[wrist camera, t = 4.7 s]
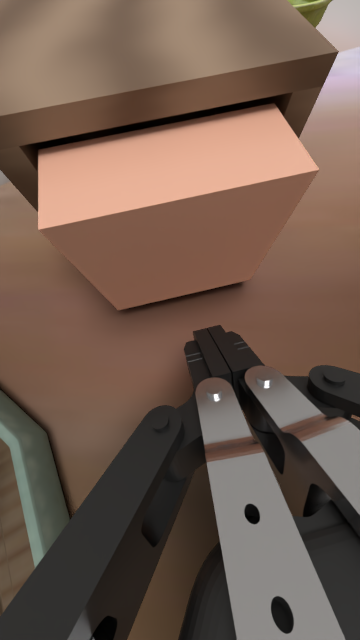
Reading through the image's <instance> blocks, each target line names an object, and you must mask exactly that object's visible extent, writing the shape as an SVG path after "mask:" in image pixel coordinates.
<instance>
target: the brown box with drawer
mask: <svg viewBox="0 0 360 640" xmlns="http://www.w3.org/2000/svg"><path fill="white" fill-rule="evenodd" d="M338 52H339V51H338V50H337V49H335V47H334V46H333V45H332V44H331V43H330V42H329V41H328V40H327V39H326V38H325V37H324V36H323V35H322V34H321V33H320V32H319V31H318V30H317V29H316V28H315V27H314V26H313V25H312V24H310V23H309V22H308V21H307V20H306V19H305V18H304V17H303V16H302V15H301V14H300V13H299V12H298V11H297V10H296V9H295V8H294V7H293V6H292V5H291V4H290V3H289V2H288V1H287V0H0V170H1V171H2V172H3V173H4V174H5V176H6V177H7V178H8V179H9V180H10V181H11V182H12V184H13V185H14V186H15V187H16V188H17V189H18V190H19V191H20V193H21V194H22V195H23V196H24V197H25V198H26V199H27V200H28V202H29V203H30V204H31V205H32V206H33V207H34V208H35V209H36V211H37V212H38V150H40V149H45V148H50V147H55V146H60V145H65V144H70V143H75V142H80V141H85V140H90V139H95V138H100V137H105V136H110V135H115V134H120V133H125V132H130V131H135V130H140V129H146V128H151V127H156V126H161V125H166V124H171V123H176V122H181V121H186V120H191V119H196V118H201V117H206V116H211V115H216V114H221V113H226V112H231V111H236V110H241V109H246V108H251V107H256V106H261V105H267V104H272V103H275V105H276V106H277V108H278V109H279V111H280V112H281V114H282V115H283V117H284V118H285V120H286V121H287V123H288V124H289V126H290V127H291V129H292V130H293V132H294V133H295V134H296V136H297V137H298V139H299V137H300V135H301V132H302V130H303V128H304V126H305V124H306V121H307V119H308V117H309V115H310V113H311V111H312V108H313V106H314V104H315V102H316V100H317V98H318V95H319V93H320V91H321V89H322V87H323V85H324V82H325V80H326V78H327V76H328V74H329V72H330V69H331V67H332V65H333V63H334V61H335V59H336V56H337V54H338Z"/></svg>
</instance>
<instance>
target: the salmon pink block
mask: <svg viewBox="0 0 360 640" xmlns="http://www.w3.org/2000/svg"><path fill="white" fill-rule="evenodd" d="M318 171H319V168H318V167H317V166H316V164H315V163H314V161H313V160H312V158H311V157H310V155H309V154H308V152H307V151H306V149H305V148H304V146H303V145H302V143H301V142H300V140H299V139H298V137H297V136H296V134H295V133H294V132H293V130H292V129H291V127H290V126H289V124H288V123H287V121H286V120H285V118H284V117H283V115H282V114H281V112H280V111H279V109H278V108H277V106H276V105H275V103H272V104H267V105H261V106H256V107H251V108H246V109H241V110H236V111H231V112H226V113H221V114H216V115H211V116H206V117H201V118H196V119H191V120H186V121H181V122H176V123H171V124H166V125H161V126H156V127H151V128H146V129H140V130H135V131H130V132H125V133H120V134H115V135H110V136H105V137H100V138H95V139H90V140H85V141H80V142H75V143H70V144H65V145H60V146H55V147H50V148H45V149H40V150H38V230H39V231H40V232H41V233H42V234H43V235H44V236H45V237H46V238H47V239H48V240H49V241H50V242H51V243H52V244H53V245H54V246H55V247H56V248H57V249H58V250H59V251H60V252H61V253H62V254H63V255H64V256H65V257H66V258H67V259H68V260H69V261H70V262H71V263H72V264H73V265H74V266H75V267H76V268H77V269H78V270H79V271H80V272H81V273H82V274H83V275H84V276H85V277H86V278H87V279H88V280H89V282H90V283H91V284H92V285H93V286H94V287H95V288H96V289H97V290H98V291H99V292H100V293H101V294H102V295H103V296H104V297H105V298H106V299H107V300H108V301H109V302H110V303H111V304H112V305H113V306H114V307H115V308H116V309H117V310H122V309H127V308H131V307H135V306H140V305H144V304H148V303H152V302H157V301H161V300H165V299H170V298H174V297H178V296H183V295H187V294H191V293H195V292H200V291H204V290H208V289H213V288H217V287H221V286H225V285H230V284H234V283H238V282H243V281H247V280H250V279H251V278H252V276H253V275H254V273H255V271H256V270H257V268H258V267H259V265H260V263H261V262H262V260H263V259H264V257H265V256H266V254H267V252H268V251H269V249H270V248H271V246H272V244H273V243H274V241H275V240H276V238H277V236H278V235H279V233H280V232H281V230H282V228H283V227H284V225H285V224H286V222H287V220H288V219H289V217H290V216H291V214H292V212H293V211H294V209H295V208H296V206H297V204H298V203H299V201H300V200H301V198H302V196H303V195H304V193H305V192H306V190H307V189H308V187H309V185H310V184H311V182H312V181H313V179H314V177H315V176H316V174H317V173H318Z"/></svg>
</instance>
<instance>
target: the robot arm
mask: <svg viewBox="0 0 360 640" xmlns="http://www.w3.org/2000/svg"><path fill="white" fill-rule="evenodd" d="M193 335H194V341H190V342H186V345H185V348H184V351H185V356H186V360H187V365H188V369H189V373H190V377H191V380H192V384H193V388H194V392H193V395H192V396H191V398H190V399H189V400H188V401H187V402H186V403H185V404H183V405H182V406H180V407H178V408H177V409H175V408H174V407H172V406H167V405H163V406H159V407H156V408H154V409H152V410H151V411H150V412H149V413H148V414H147V415H146V416H145V417H144V419H143V420H142V421H141V423H140V424H139V426H138V427H137V428H136V430H135V431H134V433H133V434H132V435H131V437H130V438H129V439H128V441H127V442H126V444H125V445H124V446H123V448H122V449H121V450H120V452H119V453H118V455H117V456H116V457H115V459H114V460H113V461H112V463H111V464H110V466H109V467H108V468H107V470H106V471H105V473H104V474H103V475H102V477H101V478H100V479H99V481H98V482H97V484H96V485H95V486H94V488H93V489H92V490H91V492H90V493H89V495H88V496H87V497H86V499H85V500H84V502H83V503H82V504H81V506H80V507H79V508H78V510H77V511H76V513H75V514H74V515H73V517H72V518H71V519H70V521H69V522H68V524H67V525H66V526H65V528H64V529H63V530H62V532H61V533H60V535H59V536H58V537H57V539H56V540H55V542H54V543H53V544H52V546H51V547H50V548H49V550H48V551H47V553H46V554H45V555H44V557H43V558H42V559H41V561H40V562H39V564H38V565H37V566H36V568H35V569H34V570H33V572H32V573H31V575H30V576H29V577H28V579H27V580H26V582H25V583H24V584H23V586H22V587H21V588H20V590H19V591H18V593H17V594H16V595H15V597H14V598H13V599H12V601H11V602H10V604H9V605H8V606H7V608H6V609H5V611H4V612H3V613H2V615H1V616H0V640H127V638H128V636H129V633H130V631H131V628H132V626H133V623H134V621H135V618H136V616H137V613H138V611H139V608H140V606H141V603H142V601H143V598H144V596H145V593H146V591H147V588H148V586H149V583H150V581H151V578H152V576H153V573H154V571H155V568H156V566H157V564H158V561H159V559H160V556H161V554H162V551H163V549H164V546H165V544H166V541H167V539H168V536H169V534H170V531H171V529H172V526H173V524H174V521H175V519H176V516H177V514H178V511H179V509H180V506H181V504H182V501H183V499H184V496H185V494H186V492H187V489H188V487H189V484H190V482H191V479H192V477H193V474H194V471H195V470H196V469H197V468H198V467H200V466H201V465H202V464H204V463H205V462H207V468H208V474H209V479H210V485H211V491H212V497H213V503H214V509H215V514H216V520H217V526H218V532H219V538H220V542H219V543H218V544H217V545H216V546H215V547H214V548H213V549H212V551H211V552H210V553H209V555H208V556H207V558H206V559H205V561H204V563H203V565H202V567H201V569H200V571H199V573H198V575H197V577H196V580H195V583H194V585H193V588H192V591H191V594H190V598H189V601H188V605H187V609H186V612H185V616H184V620H183V624H182V628H181V631H180V635H179V639H178V640H360V421H358V420H355V419H353V418H351V416H352V414H353V415H355V416H358V417H360V374H359V373H356V372H352V371H349V370H345V369H342V368H338V367H334V366H328V365H321V366H316V367H314V368H312V369H311V370H310V372H309V377H308V376H283V375H282V374H281V373H280V372H279V371H278V370H276V369H274V368H272V367H268V366H265V365H264V364H263V363H262V362H261V360H260V359H259V358H258V357H257V356H256V354H255V353H254V352H253V351H252V350H251V348H250V347H248V345H247V344H246V342H244V340H243V339H242V338H241V336H240V335H238V334H236V333H234V332H232V331H231V332H227V333H226V332H225V331H224V329H223V328H222V327H221V325H217V326H213V327H209V328H207V329H206V328H205V329H201V330H197V331H193ZM242 410H243V411H244V413H245V415H246V420H247V422H246V420H245V417H244V415H243V412H242ZM252 436H253V437H252ZM253 438H254V439H255V440H254V439H253ZM272 470H273V471H272ZM273 472H274V474H275V476H276V478H277V480H278V482H279V484H280V487H281V490H280V487H279V485H278V483H277V480H276V478H275V476H274V474H273ZM281 491H282V492H281ZM290 511H291V513H292V515H293V516H292V515H291V513H290Z"/></svg>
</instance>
